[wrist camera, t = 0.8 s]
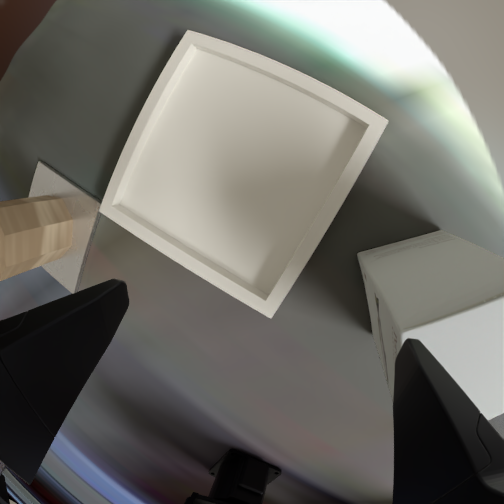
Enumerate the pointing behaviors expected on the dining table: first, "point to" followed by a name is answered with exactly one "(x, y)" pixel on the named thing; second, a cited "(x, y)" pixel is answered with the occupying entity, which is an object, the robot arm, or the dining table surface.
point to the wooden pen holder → (32, 233)
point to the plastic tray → (239, 167)
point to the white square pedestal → (84, 222)
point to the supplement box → (441, 310)
